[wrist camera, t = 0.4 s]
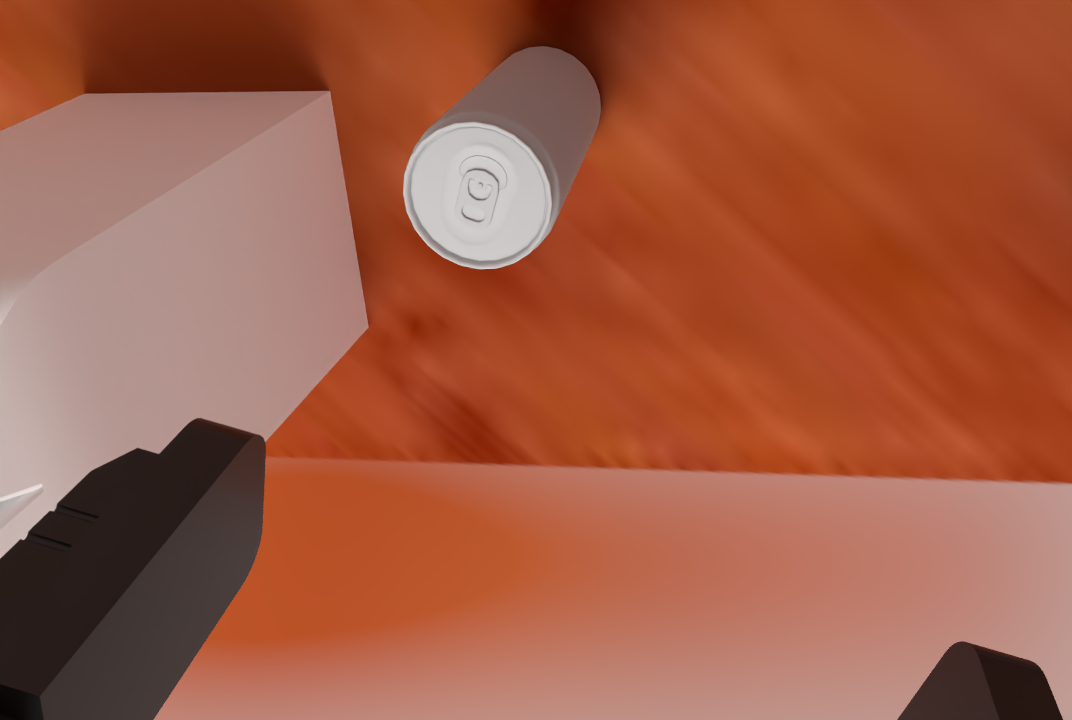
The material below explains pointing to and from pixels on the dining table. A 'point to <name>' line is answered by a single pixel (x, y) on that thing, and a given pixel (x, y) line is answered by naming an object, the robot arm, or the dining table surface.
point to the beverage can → (503, 159)
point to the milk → (164, 277)
